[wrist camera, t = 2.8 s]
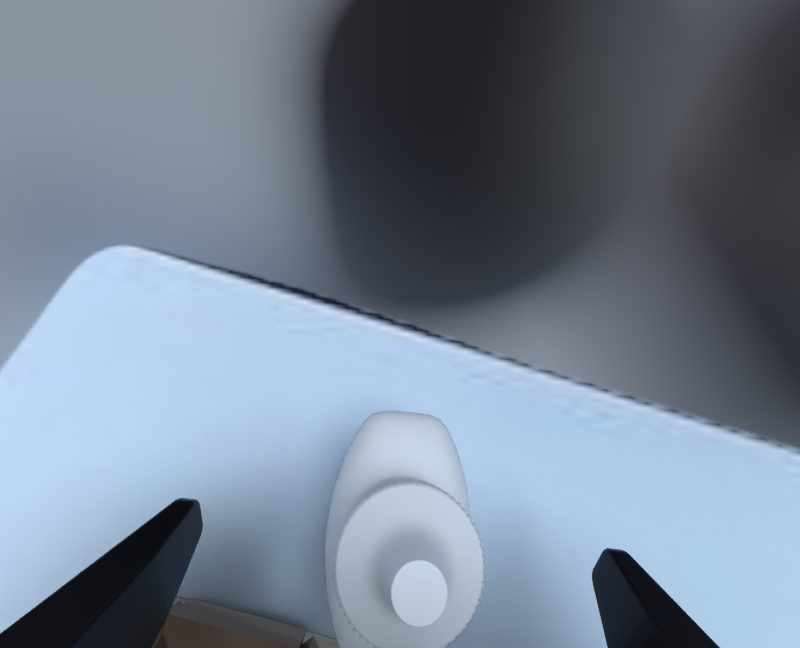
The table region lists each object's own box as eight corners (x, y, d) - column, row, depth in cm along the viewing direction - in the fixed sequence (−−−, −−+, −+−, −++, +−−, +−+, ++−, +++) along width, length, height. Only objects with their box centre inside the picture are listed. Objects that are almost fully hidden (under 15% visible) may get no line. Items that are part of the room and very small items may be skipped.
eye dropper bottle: (305, 532, 15) (108, 722, 4) (384, 413, 17) (397, 319, 6) (396, 601, 15) (454, 1051, 4) (468, 471, 17) (663, 490, 5)
